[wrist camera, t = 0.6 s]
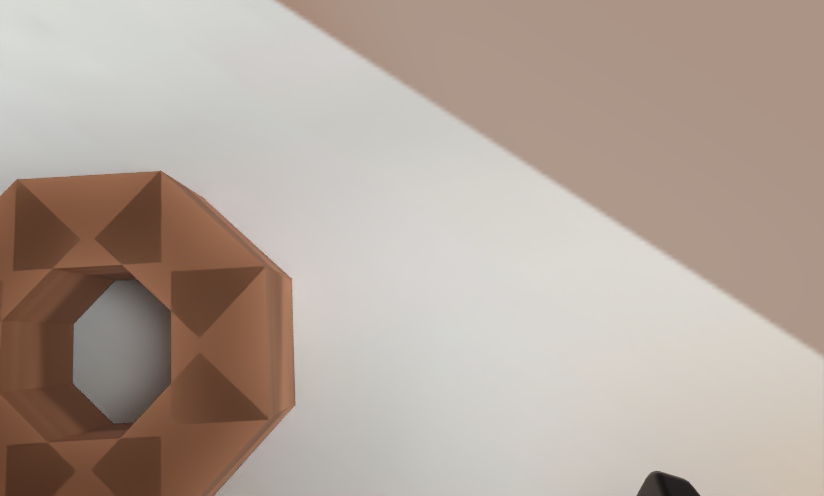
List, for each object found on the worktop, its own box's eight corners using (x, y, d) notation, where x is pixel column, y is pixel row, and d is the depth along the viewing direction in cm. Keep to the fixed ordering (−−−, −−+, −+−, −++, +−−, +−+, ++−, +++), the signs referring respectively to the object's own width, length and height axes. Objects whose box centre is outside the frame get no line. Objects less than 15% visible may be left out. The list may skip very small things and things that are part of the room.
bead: (298, 498, 22) (271, 533, 18) (-13, 515, 22) (-107, 554, 18) (289, 193, 24) (263, 164, 20) (-1, 210, 24) (-86, 185, 20)
